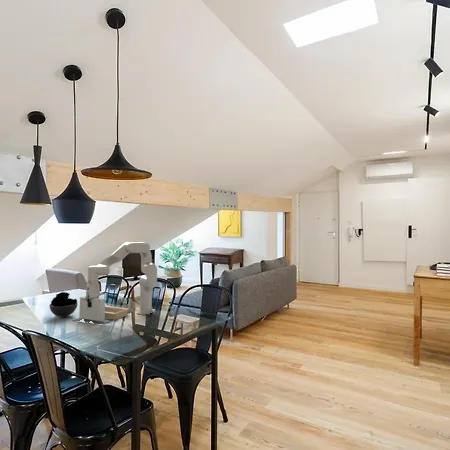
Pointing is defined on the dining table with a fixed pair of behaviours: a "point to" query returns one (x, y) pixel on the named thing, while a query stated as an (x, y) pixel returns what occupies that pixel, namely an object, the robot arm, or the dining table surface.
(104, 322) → the mat
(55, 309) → the coal bowl
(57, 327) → the dining table surface
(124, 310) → the wooden frame
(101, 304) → the skincare box
